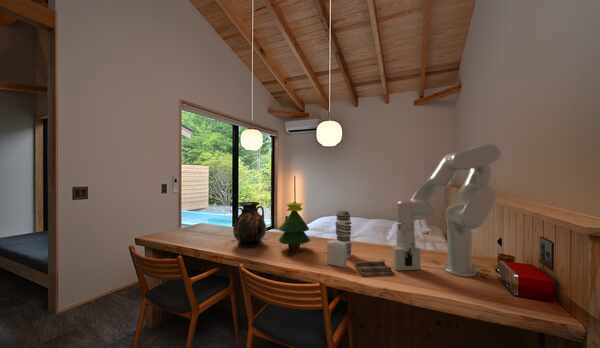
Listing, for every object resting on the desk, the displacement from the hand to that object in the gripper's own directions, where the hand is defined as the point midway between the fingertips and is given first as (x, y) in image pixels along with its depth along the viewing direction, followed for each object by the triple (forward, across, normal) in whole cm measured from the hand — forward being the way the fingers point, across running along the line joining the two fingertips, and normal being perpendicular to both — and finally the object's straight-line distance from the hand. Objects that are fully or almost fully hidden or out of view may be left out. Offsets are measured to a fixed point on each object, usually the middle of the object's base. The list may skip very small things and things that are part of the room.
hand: (406, 263), depth 112 cm
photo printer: (+2, -8, -33) cm, 34 cm away
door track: (+2, 0, -17) cm, 17 cm away
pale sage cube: (+2, 0, 0) cm, 2 cm away
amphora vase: (+1, -45, -83) cm, 94 cm away
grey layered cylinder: (+2, -22, -26) cm, 34 cm away
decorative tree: (+2, -33, -54) cm, 63 cm away
